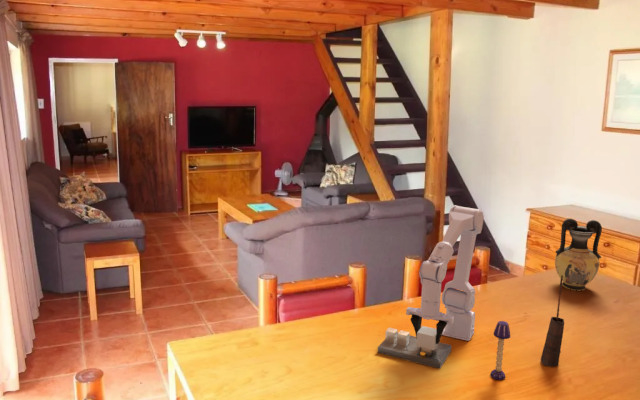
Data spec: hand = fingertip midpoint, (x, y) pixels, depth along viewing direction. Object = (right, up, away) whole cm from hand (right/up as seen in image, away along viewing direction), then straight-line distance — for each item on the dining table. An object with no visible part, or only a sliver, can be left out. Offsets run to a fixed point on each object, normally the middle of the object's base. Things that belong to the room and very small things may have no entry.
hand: (427, 340), depth 172 cm
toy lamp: (+18, -8, -11) cm, 23 cm away
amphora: (+75, +6, +64) cm, 98 cm away
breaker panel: (-4, -4, +3) cm, 6 cm away
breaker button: (0, -5, +1) cm, 5 cm away
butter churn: (+37, -7, -3) cm, 38 cm away
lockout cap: (0, -1, 0) cm, 1 cm away
